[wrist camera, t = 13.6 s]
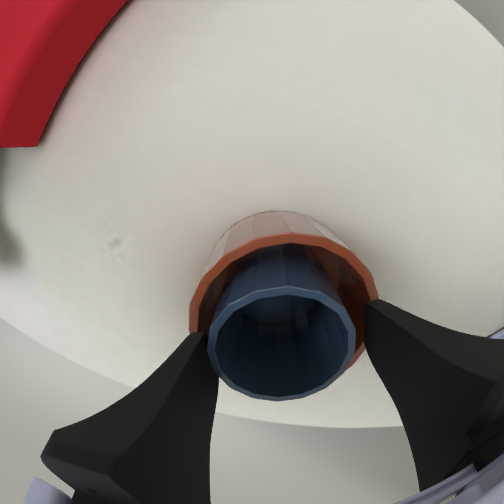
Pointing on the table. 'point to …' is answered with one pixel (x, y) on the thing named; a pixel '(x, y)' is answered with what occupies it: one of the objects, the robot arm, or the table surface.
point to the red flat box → (42, 59)
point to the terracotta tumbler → (275, 233)
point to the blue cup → (280, 325)
